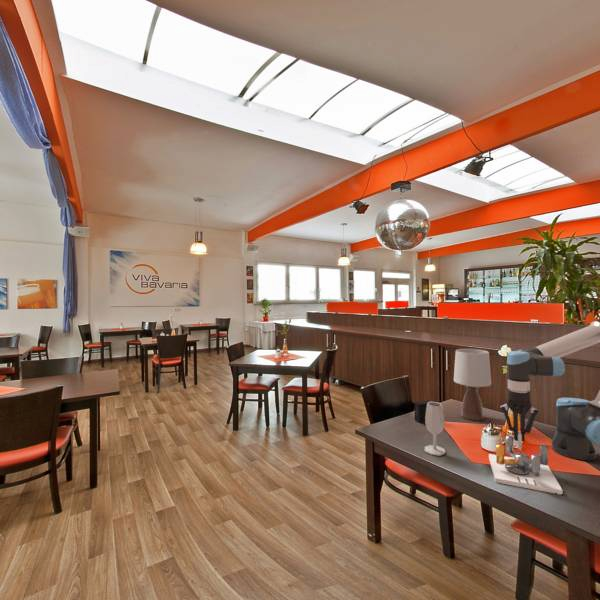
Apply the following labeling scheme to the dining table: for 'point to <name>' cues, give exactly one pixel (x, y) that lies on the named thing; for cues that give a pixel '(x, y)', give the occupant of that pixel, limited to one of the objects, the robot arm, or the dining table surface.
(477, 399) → the lamp
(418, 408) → the electronic device
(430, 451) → the wineglass
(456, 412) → the dining table surface
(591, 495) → the dining table surface
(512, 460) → the silver metal piece
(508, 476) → the stand plate
